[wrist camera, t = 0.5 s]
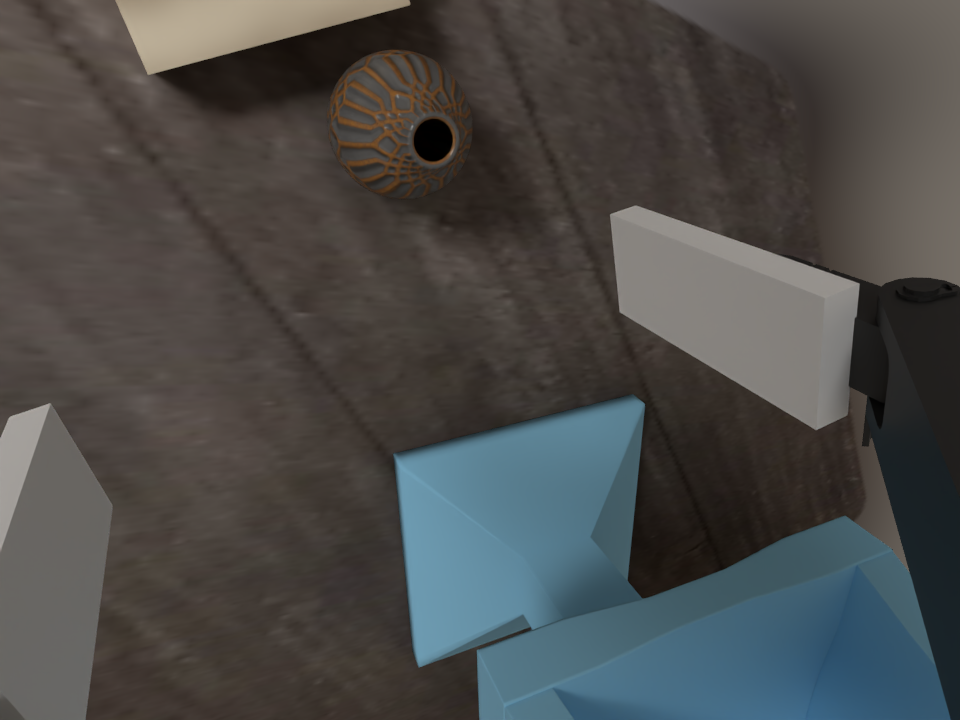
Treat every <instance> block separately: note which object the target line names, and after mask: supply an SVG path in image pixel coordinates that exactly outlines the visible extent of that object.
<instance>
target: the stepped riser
mask: <svg viewBox="0 0 960 720" xmlns="http://www.w3.org/2000/svg"><path fill="white" fill-rule="evenodd" d="M116 2H117V5H118V7H119V9H120V12H121V14H122V16H123V18H124V21H125V23H126V25H127V28H128V30H129V32H130V34H131V37H132V39H133V41H134V44H135V46H136V48H137V50H138V53H139V55H140V57H141V60H142V62H143V64H144V66H145V69H146V71H147V73H148V75H150V74H153V73H157V72H161V71H165V70H169V69H172V68H176V67H180V66H184V65H187V64H191V63H195V62H199V61H202V60H206V59H210V58H214V57H217V56H221V55H225V54H229V53H232V52H236V51H240V50H244V49H247V48H251V47H255V46H259V45H262V44H266V43H270V42H274V41H277V40H281V39H285V38H289V37H292V36H296V35H300V34H304V33H307V32H311V31H315V30H319V29H322V28H326V27H330V26H334V25H338V24H341V23H345V22H349V21H353V20H356V19H360V18H364V17H368V16H371V15H375V14H379V13H383V12H386V11H390V10H394V9H398V8H401V7H405V6H409V5H410V1H409V0H116Z"/></svg>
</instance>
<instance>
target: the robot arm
mask: <svg viewBox="0 0 960 720" xmlns="http://www.w3.org/2000/svg"><path fill="white" fill-rule="evenodd" d="M610 219H611V229H612V239H613V249H614V259H615V269H616V279H617V289H618V299H619V309H620V313H622V314H624V315H625V316H627V317H629V318H630V319H632V320H634V321H635V322H637V323H639V324H640V325H642V326H644V327H645V328H647V329H649V330H650V331H652V332H654V333H655V334H657V335H659V336H660V337H662V338H664V339H665V340H667V341H669V342H670V343H672V344H674V345H675V346H677V347H679V348H680V349H682V350H684V351H685V352H687V353H689V354H690V355H692V356H694V357H695V358H697V359H699V360H700V361H702V362H704V363H705V364H707V365H709V366H710V367H712V368H714V369H715V370H717V371H719V372H720V373H722V374H724V375H725V376H727V377H729V378H730V379H732V380H734V381H735V382H737V383H739V384H740V385H742V386H744V387H745V388H747V389H749V390H750V391H752V392H754V393H755V394H757V395H759V396H760V397H762V398H764V399H765V400H767V401H769V402H770V403H772V404H773V405H775V406H777V407H778V408H780V409H782V410H783V411H785V412H787V413H788V414H790V415H792V416H793V417H795V418H797V419H798V420H800V421H802V422H803V423H805V424H807V425H808V426H810V427H812V428H813V429H815V430H817V429H820V428H822V427H824V426H826V425H828V424H830V423H832V422H834V421H836V420H839V419H841V418H843V417H845V416H847V415H848V405H849V394H850V387H851V388H853V389H855V390H858V391H860V392H861V393H863V394H865V395H867V405H866V415H865V423H864V433H863V442H862V446H869V442H870V439H871V438H872V439H873V442H874V445H875V449H876V453H877V456H878V460H879V464H880V467H881V471H882V474H883V478H884V482H885V485H886V488H887V492H888V495H889V500H890V503H891V506H892V510H893V514H894V518H895V521H896V525H897V528H898V532H899V535H900V539H901V543H902V546H903V550H904V553H905V557H906V561H907V564H908V568H909V571H910V575H911V579H912V582H913V586H914V589H915V593H916V597H917V600H918V604H919V607H920V611H921V615H922V618H923V622H924V625H925V629H926V633H927V636H928V640H929V643H930V647H931V650H932V654H933V658H934V661H935V665H936V668H937V672H938V676H939V679H940V683H941V686H942V690H943V694H944V697H945V701H946V704H947V708H948V712H949V715H950V719H951V720H960V287H959V286H957V285H955V284H952V283H950V282H947V281H944V280H938V279H932V278H905V279H898V280H894V281H891V282H888V283H885V284H884V285H883V286H882V287H881V286H878V285H875V284H872V283H869V282H866V281H863V280H861V279H858V278H855V277H851V276H849V275H846V274H843V273H840V272H837V271H834V270H832V271H829V268H826V267H823V266H820V265H817V264H816V265H813V263H811V262H808V261H805V260H802V259H799V258H796V257H794V256H788V255H780V254H774V253H771V252H768V251H765V250H762V249H759V248H756V247H753V246H751V245H748V244H745V243H742V242H739V241H736V240H733V239H731V238H728V237H725V236H722V235H719V234H716V233H713V232H711V231H708V230H705V229H702V228H699V227H696V226H693V225H690V224H688V223H685V222H682V221H679V220H676V219H673V218H670V217H668V216H665V215H662V214H659V213H656V212H653V211H650V210H648V209H645V208H642V207H639V206H633V207H630V208H627V209H624V210H621V211H618V212H615V213H612V214H610ZM112 508H113V505H112V504H111V502H110V500H109V499H108V497H107V496H106V494H105V492H104V491H103V489H102V487H101V486H100V484H99V482H98V481H97V479H96V477H95V476H94V474H93V472H92V471H91V469H90V467H89V466H88V464H87V462H86V461H85V459H84V457H83V456H82V454H81V453H80V451H79V449H78V448H77V446H76V444H75V443H74V441H73V439H72V438H71V436H70V434H69V433H68V431H67V429H66V428H65V426H64V424H63V423H62V421H61V419H60V418H59V416H58V414H57V413H56V411H55V410H54V408H53V406H52V405H51V403H50V404H47V405H44V406H41V407H38V408H35V409H32V410H29V411H26V412H23V413H20V414H17V415H14V416H11V417H9V419H8V422H7V424H6V426H5V429H4V431H3V433H2V436H1V438H0V720H85V718H86V710H87V703H88V695H89V687H90V679H91V671H92V664H93V656H94V648H95V640H96V633H97V625H98V617H99V609H100V601H101V594H102V586H103V578H104V570H105V563H106V555H107V547H108V539H109V531H110V524H111V516H112Z"/></svg>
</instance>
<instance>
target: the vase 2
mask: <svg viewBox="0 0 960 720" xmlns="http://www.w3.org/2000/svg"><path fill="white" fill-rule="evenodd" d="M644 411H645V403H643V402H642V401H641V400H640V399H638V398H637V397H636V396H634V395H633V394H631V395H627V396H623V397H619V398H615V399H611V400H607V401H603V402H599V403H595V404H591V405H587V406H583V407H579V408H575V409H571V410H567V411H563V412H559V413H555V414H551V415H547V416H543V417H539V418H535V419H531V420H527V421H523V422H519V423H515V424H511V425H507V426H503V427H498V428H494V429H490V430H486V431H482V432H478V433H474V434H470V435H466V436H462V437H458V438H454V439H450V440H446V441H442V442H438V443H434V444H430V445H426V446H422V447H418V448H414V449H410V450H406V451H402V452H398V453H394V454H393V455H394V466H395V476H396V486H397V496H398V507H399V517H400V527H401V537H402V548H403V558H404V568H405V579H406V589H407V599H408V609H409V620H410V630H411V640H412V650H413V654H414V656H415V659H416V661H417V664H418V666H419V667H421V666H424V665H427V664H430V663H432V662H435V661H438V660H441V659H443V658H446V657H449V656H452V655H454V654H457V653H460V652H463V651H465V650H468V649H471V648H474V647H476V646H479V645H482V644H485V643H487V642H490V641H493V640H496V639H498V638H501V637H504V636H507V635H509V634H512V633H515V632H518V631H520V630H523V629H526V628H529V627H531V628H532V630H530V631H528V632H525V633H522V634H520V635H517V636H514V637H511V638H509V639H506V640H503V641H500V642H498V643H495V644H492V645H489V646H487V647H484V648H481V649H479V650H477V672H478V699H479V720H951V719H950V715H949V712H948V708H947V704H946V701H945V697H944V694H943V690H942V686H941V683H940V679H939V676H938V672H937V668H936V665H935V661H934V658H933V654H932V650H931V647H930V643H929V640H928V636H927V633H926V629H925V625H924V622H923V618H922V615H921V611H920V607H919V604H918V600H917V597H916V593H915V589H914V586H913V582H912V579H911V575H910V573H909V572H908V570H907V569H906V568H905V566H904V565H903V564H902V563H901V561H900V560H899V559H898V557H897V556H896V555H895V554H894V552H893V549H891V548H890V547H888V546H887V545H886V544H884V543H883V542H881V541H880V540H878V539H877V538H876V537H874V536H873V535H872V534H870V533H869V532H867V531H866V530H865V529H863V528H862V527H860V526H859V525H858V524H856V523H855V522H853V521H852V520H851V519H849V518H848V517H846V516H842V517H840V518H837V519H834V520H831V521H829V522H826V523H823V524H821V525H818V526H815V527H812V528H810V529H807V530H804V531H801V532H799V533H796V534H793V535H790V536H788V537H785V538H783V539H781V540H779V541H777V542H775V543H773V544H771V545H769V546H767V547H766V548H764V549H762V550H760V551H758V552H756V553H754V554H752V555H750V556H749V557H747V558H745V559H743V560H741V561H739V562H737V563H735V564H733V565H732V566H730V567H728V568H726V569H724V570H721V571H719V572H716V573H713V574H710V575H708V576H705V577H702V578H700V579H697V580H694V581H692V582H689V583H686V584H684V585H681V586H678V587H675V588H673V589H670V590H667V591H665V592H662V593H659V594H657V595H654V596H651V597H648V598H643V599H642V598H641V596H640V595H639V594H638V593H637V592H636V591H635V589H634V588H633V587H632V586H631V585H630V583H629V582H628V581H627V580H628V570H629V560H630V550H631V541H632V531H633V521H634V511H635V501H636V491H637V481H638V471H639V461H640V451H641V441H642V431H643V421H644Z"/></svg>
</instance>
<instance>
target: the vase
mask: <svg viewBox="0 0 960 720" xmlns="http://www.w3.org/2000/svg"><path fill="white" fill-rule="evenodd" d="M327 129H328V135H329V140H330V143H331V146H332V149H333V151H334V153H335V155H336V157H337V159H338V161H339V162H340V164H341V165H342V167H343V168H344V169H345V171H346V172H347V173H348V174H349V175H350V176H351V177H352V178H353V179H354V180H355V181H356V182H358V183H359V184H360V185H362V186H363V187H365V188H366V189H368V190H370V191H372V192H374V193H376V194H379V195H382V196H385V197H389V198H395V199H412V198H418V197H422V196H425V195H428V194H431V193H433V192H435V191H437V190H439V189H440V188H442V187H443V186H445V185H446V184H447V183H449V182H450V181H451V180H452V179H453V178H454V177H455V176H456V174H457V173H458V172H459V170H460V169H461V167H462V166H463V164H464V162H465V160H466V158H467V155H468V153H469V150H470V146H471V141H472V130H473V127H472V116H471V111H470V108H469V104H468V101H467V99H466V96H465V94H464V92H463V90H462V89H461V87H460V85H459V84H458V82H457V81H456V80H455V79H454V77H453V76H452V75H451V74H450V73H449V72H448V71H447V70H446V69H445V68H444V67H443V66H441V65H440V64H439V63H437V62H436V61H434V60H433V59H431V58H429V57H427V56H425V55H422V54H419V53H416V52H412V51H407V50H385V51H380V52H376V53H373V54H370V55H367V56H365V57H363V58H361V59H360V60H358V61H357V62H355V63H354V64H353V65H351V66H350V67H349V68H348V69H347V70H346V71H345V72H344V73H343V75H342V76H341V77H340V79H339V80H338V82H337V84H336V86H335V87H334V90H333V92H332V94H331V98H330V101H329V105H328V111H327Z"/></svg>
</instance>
